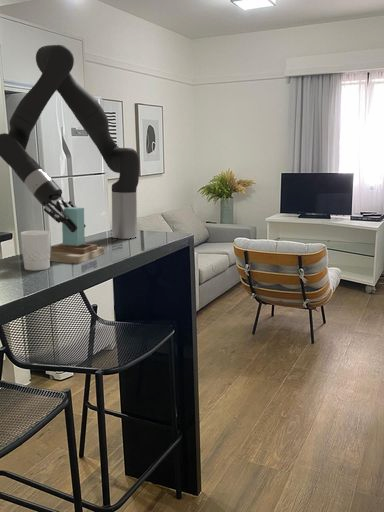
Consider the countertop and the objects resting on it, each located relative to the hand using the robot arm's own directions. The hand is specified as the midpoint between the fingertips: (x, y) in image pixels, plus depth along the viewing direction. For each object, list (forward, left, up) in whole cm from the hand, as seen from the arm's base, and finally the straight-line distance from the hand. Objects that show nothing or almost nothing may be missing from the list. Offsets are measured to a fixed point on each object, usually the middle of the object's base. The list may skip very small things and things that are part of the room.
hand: (79, 229), depth 154 cm
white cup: (+17, -4, -9) cm, 20 cm away
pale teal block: (0, -2, -5) cm, 5 cm away
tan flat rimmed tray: (0, -2, -9) cm, 9 cm away
